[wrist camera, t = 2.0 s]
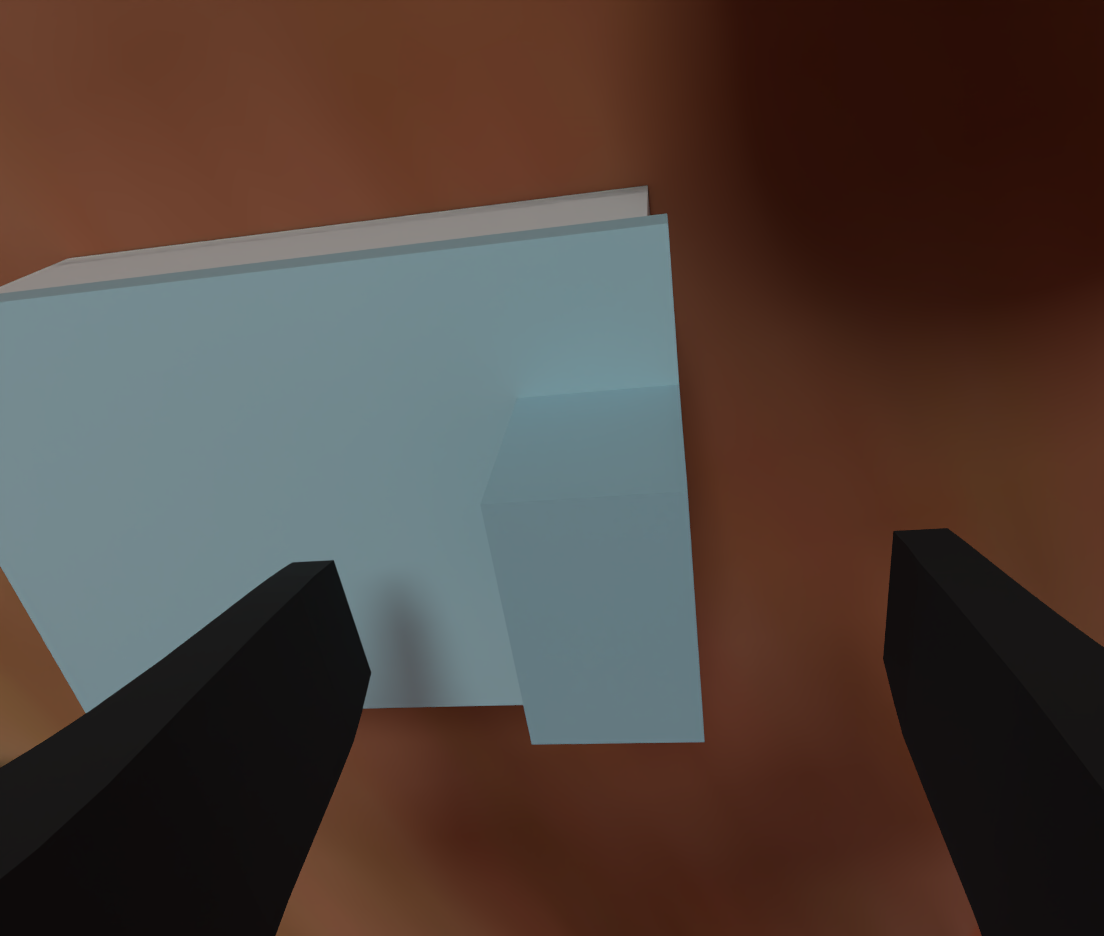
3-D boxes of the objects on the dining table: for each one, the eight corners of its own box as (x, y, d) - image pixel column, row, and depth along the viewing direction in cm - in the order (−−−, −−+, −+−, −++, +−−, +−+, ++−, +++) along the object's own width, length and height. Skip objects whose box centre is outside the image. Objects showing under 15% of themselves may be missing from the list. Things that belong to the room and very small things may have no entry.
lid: (125, 667, 18) (-19, 844, 14) (-74, 292, 14) (-352, 398, 10) (697, 648, 16) (711, 849, 12) (666, 201, 12) (673, 292, 8)
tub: (202, 569, 20) (110, 682, 17) (68, 258, 17) (-86, 323, 13) (675, 544, 18) (681, 665, 15) (647, 185, 15) (646, 238, 11)
